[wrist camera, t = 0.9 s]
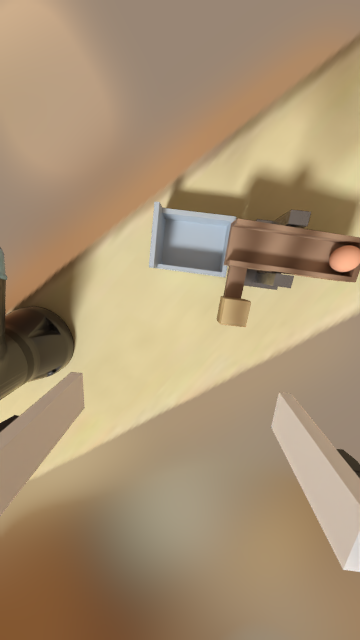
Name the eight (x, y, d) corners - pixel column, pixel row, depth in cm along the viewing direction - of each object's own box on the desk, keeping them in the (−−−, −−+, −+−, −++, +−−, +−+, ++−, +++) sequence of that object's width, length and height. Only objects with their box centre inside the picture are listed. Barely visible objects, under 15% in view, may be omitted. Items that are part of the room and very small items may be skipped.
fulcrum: (242, 284, 36) (258, 289, 27) (256, 220, 34) (278, 200, 24) (316, 295, 36) (357, 303, 26) (336, 229, 33) (390, 213, 24)
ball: (321, 269, 27) (350, 271, 25) (328, 243, 27) (360, 242, 24) (332, 272, 29) (361, 274, 26) (340, 248, 28) (370, 247, 26)
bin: (157, 267, 37) (148, 267, 30) (162, 215, 35) (154, 201, 28) (221, 276, 36) (227, 277, 29) (231, 223, 34) (239, 211, 27)
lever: (214, 318, 31) (219, 324, 27) (231, 223, 27) (239, 217, 24) (322, 330, 32) (339, 337, 29) (351, 242, 29) (374, 238, 25)
